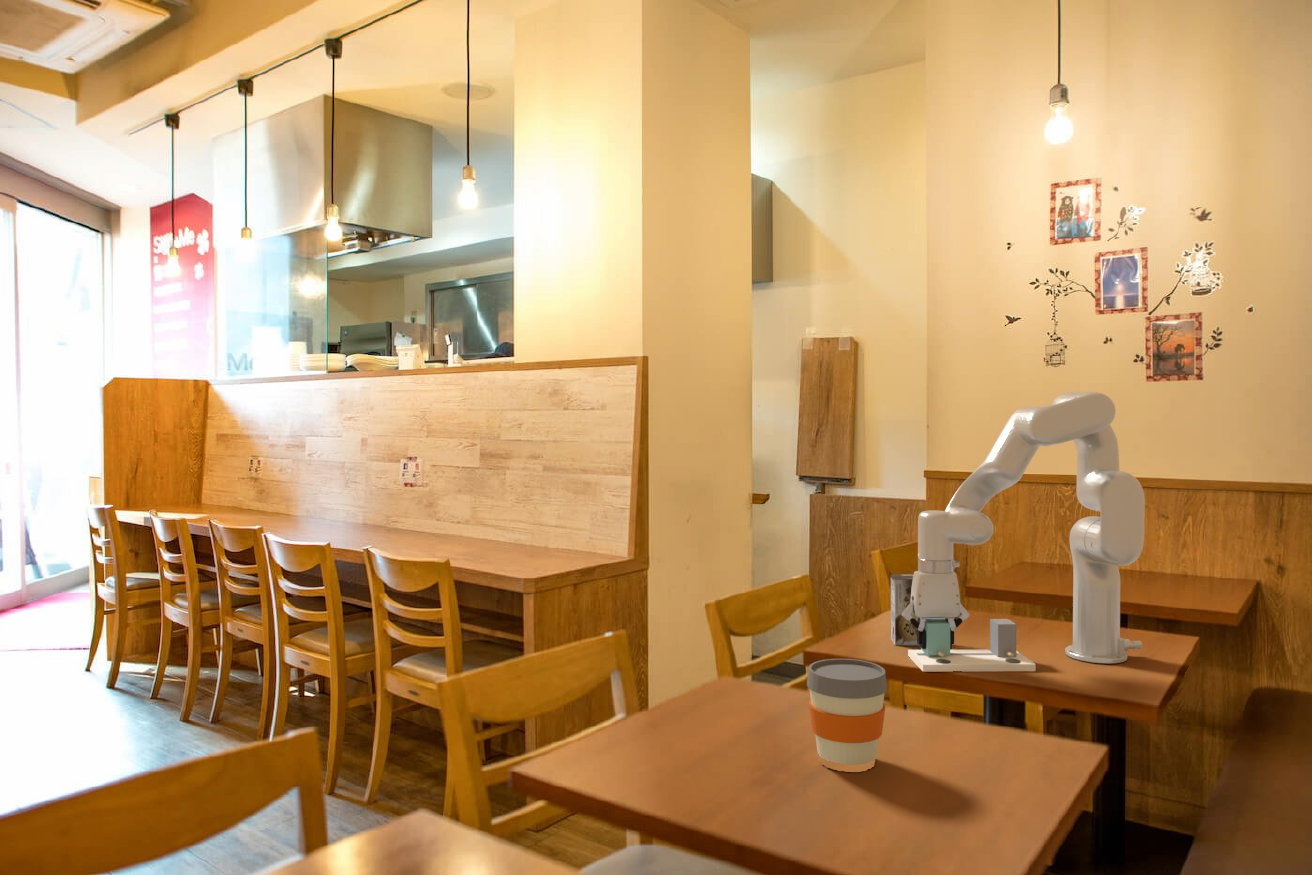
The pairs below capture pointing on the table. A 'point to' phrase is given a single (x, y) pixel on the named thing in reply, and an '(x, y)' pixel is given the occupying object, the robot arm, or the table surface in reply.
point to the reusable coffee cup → (847, 709)
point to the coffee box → (900, 599)
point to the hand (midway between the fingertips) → (935, 646)
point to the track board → (980, 654)
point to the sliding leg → (937, 637)
